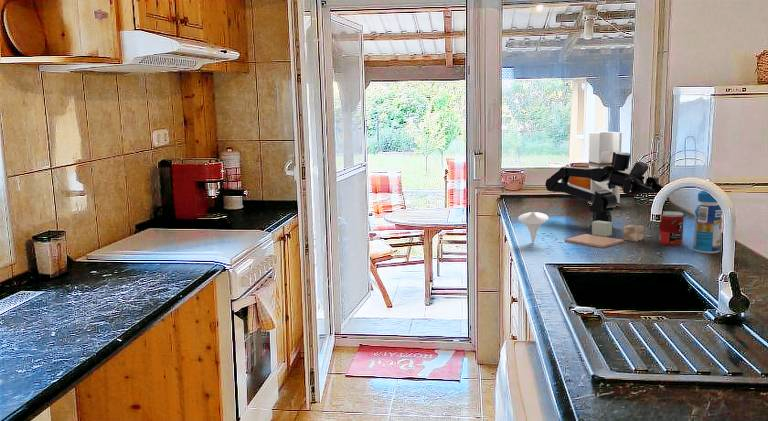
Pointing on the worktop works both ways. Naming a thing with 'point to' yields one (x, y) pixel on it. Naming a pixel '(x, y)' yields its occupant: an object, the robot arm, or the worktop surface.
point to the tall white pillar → (603, 157)
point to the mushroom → (533, 222)
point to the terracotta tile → (594, 240)
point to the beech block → (633, 232)
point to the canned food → (671, 228)
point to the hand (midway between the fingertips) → (660, 191)
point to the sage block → (602, 228)
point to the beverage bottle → (707, 224)
